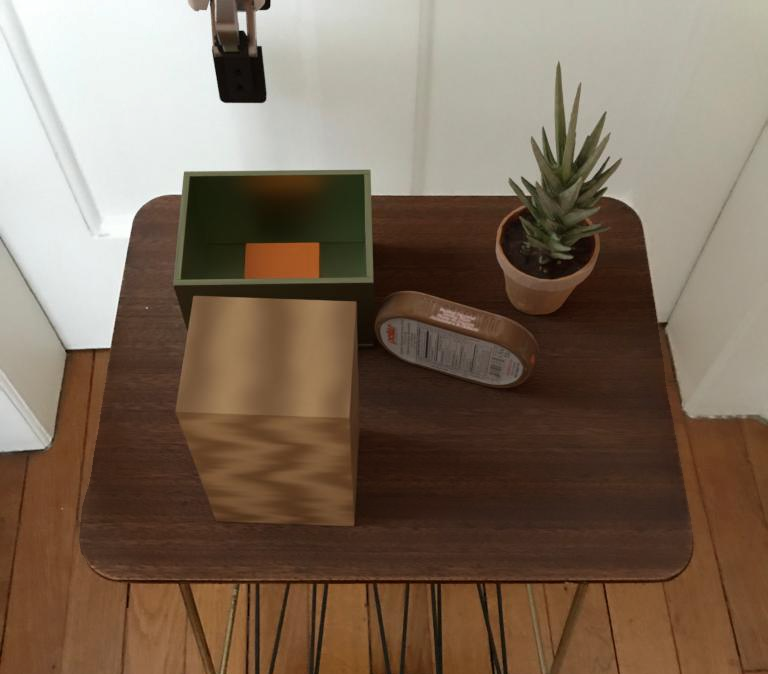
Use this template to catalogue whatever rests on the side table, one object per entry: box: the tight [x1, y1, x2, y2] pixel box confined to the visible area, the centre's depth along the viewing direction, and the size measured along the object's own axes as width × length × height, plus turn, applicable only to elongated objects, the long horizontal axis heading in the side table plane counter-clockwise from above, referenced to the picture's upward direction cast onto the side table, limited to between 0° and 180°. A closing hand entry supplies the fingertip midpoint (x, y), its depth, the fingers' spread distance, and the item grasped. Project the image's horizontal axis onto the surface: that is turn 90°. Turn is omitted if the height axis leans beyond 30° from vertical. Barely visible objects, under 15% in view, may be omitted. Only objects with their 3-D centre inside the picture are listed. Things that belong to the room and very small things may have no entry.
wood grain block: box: [174, 296, 361, 527], centre depth 72 cm, size 12×10×18 cm
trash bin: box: [172, 169, 375, 349], centre depth 84 cm, size 13×17×10 cm
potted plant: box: [495, 60, 623, 316], centre depth 78 cm, size 10×10×25 cm
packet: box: [244, 243, 322, 279], centre depth 86 cm, size 7×5×4 cm
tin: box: [374, 290, 540, 389], centre depth 81 cm, size 15×3×8 cm, turn 71°
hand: (246, 52), depth 64 cm, fingers open, 9 cm apart
